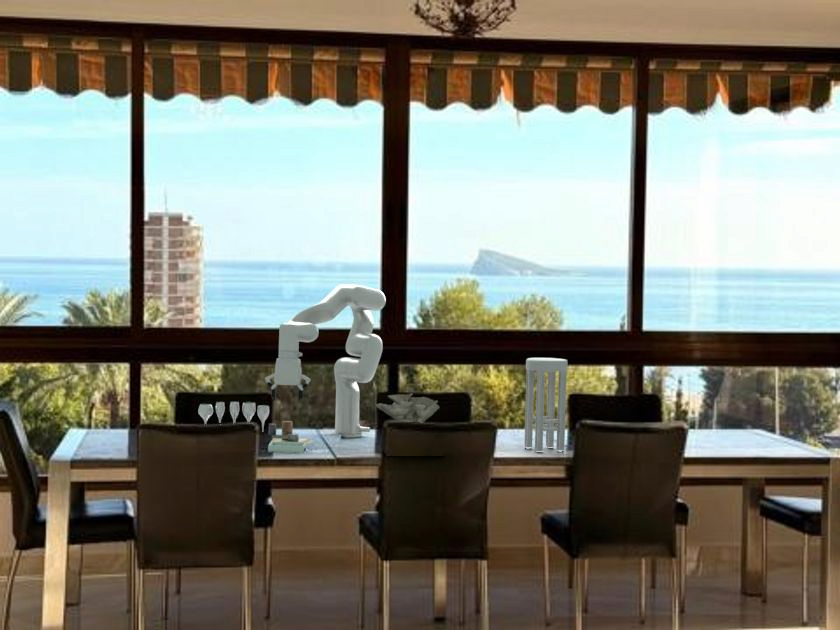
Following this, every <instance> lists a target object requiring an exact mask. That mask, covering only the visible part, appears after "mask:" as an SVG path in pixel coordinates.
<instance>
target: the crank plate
mask: <svg viewBox="0 0 840 630" xmlns="http://www.w3.org/2000/svg"><path fill="white" fill-rule="evenodd" d="M271 441H276V442H288V441H286V440H282V438H272V440H271ZM271 441H270V442H269V444H270V443H271ZM312 441H313V438H299V442H306V446H309V445H310V444H311V442H312ZM269 444H268V445H269Z"/></svg>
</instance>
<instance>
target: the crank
mask: <svg viewBox="0 0 840 630" xmlns="http://www.w3.org/2000/svg"><path fill="white" fill-rule="evenodd" d="M268 435H269V436H271V439H273V438H284V439H288V442H299V439H300V437H299V436H300V435H299V433H296V432H295V433H293V432H292V433H291V434H288V435H282V434H277V423H268Z"/></svg>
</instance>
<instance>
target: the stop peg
mask: <svg viewBox="0 0 840 630" xmlns="http://www.w3.org/2000/svg"><path fill="white" fill-rule="evenodd" d="M293 423H294V422H293V421H292V420H283V421H282V420H281V435H288V434H291V433H293ZM282 440H286V441H288V439H284V438H282Z"/></svg>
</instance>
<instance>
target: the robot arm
mask: <svg viewBox="0 0 840 630" xmlns="http://www.w3.org/2000/svg"><path fill="white" fill-rule="evenodd" d="M386 300H387V299H386V296H385V294H384V292H383V291H381V290H380V289H375V288H372V287H368V286H364V285H360V284H346V283H345V284H344V283H343V284H339V285H337V286H336V287H334V288H333V289H332V290H331V291H330V292H329V293H328V294H327V295H326V296H325V297H324V298H323V299H321V300H320V301H319V302H318V303H316V304H313V305H311V306H309V307H307V308H305V309H303V310H302V311H299V312H298V313H297V314H295V315H294V316H293V317H292V318H291V319H290V320H289V321H288V322H282V323H280V324H279V331H278V332H279V333H278V334H279V336H278V358H276V361H275V367H274V373H272V374H270V375H268V376H266V377H264V380H265V382H266V384H267V386H268V388H270V389H271V398H272V400H274V401H275V400H276V399H277V387H278V386H279V385H282V386H297V387H298V401H299V402H300V401H302V399H303V398H304V397H303V395H304V389H306V388H307V387H308V385H309V383H310V382H311V378H309V377H308V376H306V375H304V374H303V373H302V361H301V359H300V358H299V357H303V352H300V351H299V348H300V347H299V346H300V345H299V344H300V342H303V343H311V342H314V341H315V340H317V338H318V337H319V328H318V326H316V325H318V324H323V323H327V322H330V321H332V320H334V319H335V318H336V317H337V316H338V315H339V314H340V313H341V312H342V311H343V310H345V308H347V307H350V308H351V312H352V316H353V319H352V320H353V321H352V325H351V328H350V331H349V334H348V337H347V338H346V339H347V340H346V343H345V352H346V353H347V354H348V355H350V356H354V357H349V356H348V357H346V356H344V357H340V358H339V359H337V360H336V362H335V363H334V366H333V373H334V379H335V380H334V381H335V420H334V422H335V423H334V427H335V428H334V431H331V433H330V434H331V435H332V434H333V435H341V436H340V437H341V438H347V439H348V438H360V437H363V432H365V433H370V432H371V427H369V426H361V424H360V399H361V398H360V397H361V396H360V395H361V394H360V393H361V392H360V388H359V384H358V383H361V384H365V383H369V382H371V381H372V380H373V378H375V377H374V376H375V374H376V371H377V369H378V367H379V362H380V359H381V357H382V353H383V350H384V349H383V348H384V347H383V340H382V339H381V337H380V336H379V335H377V334H375V333H373V330H374V322H375V321H374V317H373V315H372V312H376V311H377V312H378V311H380V310H382V309H383V308H384V307H385V306H386V302H387V301H386ZM371 311H372V312H371ZM357 357H358V358H357ZM270 379H273V382H274V383H272V382H271V381H270ZM302 380H305V382H304V384H302Z"/></svg>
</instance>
